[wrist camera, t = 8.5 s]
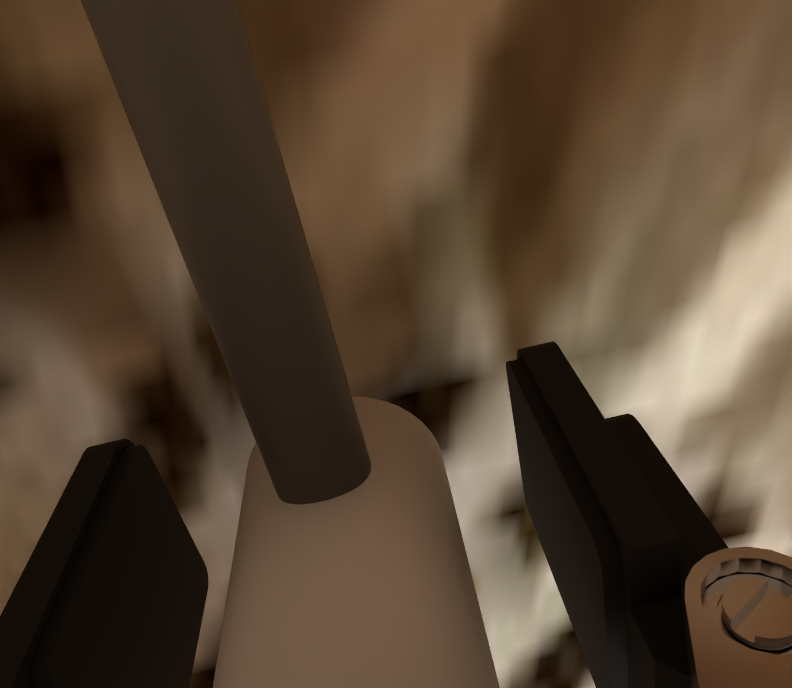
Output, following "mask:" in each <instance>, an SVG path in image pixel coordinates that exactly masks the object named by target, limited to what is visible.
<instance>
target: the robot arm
mask: <svg viewBox="0 0 792 688" xmlns="http://www.w3.org/2000/svg"><path fill="white" fill-rule="evenodd" d="M506 370H507V377H508V384H509V391H510V398H511V405H512V412H513V419H514V426H515V433H516V440H517V447H518V454H519V461H520V468H521V475H522V482H523V489H524V495H525V499H526V504H527V507H528V511H529V514H530V517H531V519H532V522H533V525H534V527H535V530H536V532H537V535H538V538H539V540H540V543H541V545H542V548H543V551H544V553H545V556H546V558H547V561H548V564H549V566H550V569H551V571H552V574H553V577H554V579H555V582H556V584H557V587H558V590H559V592H560V595H561V597H562V600H563V603H564V605H565V608H566V610H567V613H568V615H569V618H570V621H571V623H572V626H573V628H574V631H575V634H576V636H577V639H578V641H579V644H580V647H581V649H582V652H583V654H584V657H585V660H586V662H587V665H588V667H589V670H590V673H591V675H592V678H593V680H594V683H595V686H596V688H792V557H789V556H786V555H784V554H781V553H778V552H775V551H772V550H767V549H760V548H753V547H736V548H728V547H727V545H726V544H725V542H724V541H723V540H722V538H721V537H720V535H719V534H718V533H717V531H716V530H715V528H714V527H713V526H712V524H711V523H710V521H709V520H708V519H707V517H706V516H705V514H704V513H703V511H702V510H701V509H700V507H699V506H698V504H697V503H696V502H695V500H694V499H693V497H692V496H691V495H690V493H689V492H688V490H687V489H686V488H685V486H684V485H683V483H682V482H681V481H680V479H679V478H678V476H677V475H676V474H675V472H674V471H673V469H672V468H671V467H670V465H669V464H668V462H667V461H666V460H665V458H664V457H663V455H662V454H661V453H660V451H659V450H658V448H657V447H656V446H655V444H654V443H653V441H652V440H651V438H650V437H649V436H648V434H647V433H646V431H645V430H644V429H643V427H642V426H641V424H640V423H639V422H638V421H637V420H636V418H635V417H634V416H633V415H630V414H624V415H620V416H615V417H611V418H606V419H605V418H604V417H603V415H602V414H601V412H600V411H599V409H598V407H597V406H596V404H595V403H594V401H593V400H592V398H591V396H590V395H589V393H588V392H587V390H586V389H585V387H584V386H583V384H582V382H581V381H580V379H579V378H578V376H577V375H576V373H575V371H574V370H573V368H572V367H571V365H570V364H569V362H568V361H567V359H566V357H565V356H564V354H563V353H562V351H561V350H560V348H559V346H558V345H557V344H556V343H555V342H549V343H544V344H540V345H535V346H531V347H527V348H522V349H518V351H517V360H512V361H508V362H506ZM207 590H208V573H207V569H206V566H205V563H204V561H203V559H202V557H201V555H200V553H199V551H198V549H197V547H196V545H195V543H194V541H193V539H192V537H191V535H190V533H189V531H188V529H187V527H186V525H185V524H184V522H183V520H182V518H181V516H180V514H179V512H178V510H177V508H176V506H175V504H174V502H173V500H172V498H171V496H170V494H169V492H168V490H167V488H166V486H165V484H164V482H163V480H162V478H161V476H160V474H159V472H158V470H157V468H156V466H155V464H154V462H153V460H152V458H151V456H150V454H149V452H148V451H147V449H146V448H145V447H144V446H142V445H138V446H135V445H134V444H133V443H132V442H131V441H130V440H128V439H122V440H118V441H113V442H109V443H104V444H100V445H96V446H91V447H89V448H87V449H86V450H85V452H84V453H83V455H82V457H81V459H80V461H79V463H78V465H77V467H76V469H75V471H74V473H73V475H72V476H71V478H70V480H69V482H68V484H67V486H66V488H65V490H64V492H63V494H62V496H61V498H60V500H59V502H58V504H57V506H56V508H55V510H54V512H53V514H52V516H51V518H50V520H49V522H48V524H47V526H46V528H45V529H44V531H43V533H42V535H41V537H40V539H39V541H38V543H37V545H36V547H35V549H34V551H33V553H32V555H31V557H30V559H29V561H28V563H27V565H26V567H25V569H24V571H23V573H22V575H21V577H20V579H19V581H18V582H17V584H16V586H15V588H14V590H13V592H12V594H11V596H10V598H9V600H8V602H7V604H6V606H5V608H4V610H3V612H2V614H1V616H0V688H189V685H190V679H191V674H192V669H193V664H194V658H195V653H196V648H197V643H198V638H199V632H200V627H201V622H202V617H203V611H204V606H205V601H206V596H207Z"/></svg>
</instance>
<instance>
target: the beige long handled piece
mask: <svg viewBox="0 0 792 688" xmlns="http://www.w3.org/2000/svg"><path fill="white" fill-rule="evenodd" d="M81 1H82V4H83V6H84V9H85V11H86V14H87V16H88V19H89V21H90V24H91V26H92V29H93V31H94V34H95V37H96V39H97V42H98V44H99V47H100V49H101V52H102V54H103V57H104V59H105V62H106V64H107V67H108V69H109V72H110V74H111V77H112V79H113V82H114V84H115V87H116V89H117V92H118V95H119V97H120V100H121V102H122V105H123V107H124V110H125V112H126V115H127V117H128V120H129V122H130V125H131V127H132V130H133V132H134V135H135V137H136V140H137V142H138V145H139V147H140V150H141V152H142V155H143V158H144V160H145V163H146V165H147V168H148V170H149V173H150V175H151V178H152V180H153V183H154V185H155V188H156V190H157V193H158V195H159V198H160V200H161V203H162V205H163V208H164V210H165V213H166V216H167V218H168V221H169V223H170V226H171V228H172V231H173V233H174V236H175V238H176V241H177V243H178V246H179V248H180V251H181V253H182V256H183V258H184V261H185V263H186V266H187V268H188V271H189V274H190V276H191V279H192V281H193V284H194V286H195V289H196V291H197V294H198V296H199V299H200V301H201V304H202V306H203V309H204V311H205V314H206V316H207V319H208V321H209V324H210V326H211V329H212V332H213V334H214V337H215V339H216V342H217V344H218V347H219V349H220V352H221V354H222V357H223V359H224V362H225V364H226V367H227V369H228V372H229V374H230V377H231V379H232V382H233V384H234V387H235V390H236V392H237V395H238V397H239V400H240V402H241V405H242V407H243V410H244V412H245V415H246V417H247V420H248V422H249V425H250V427H251V430H252V432H253V435H254V437H255V440H256V442H257V443H256V445H255V446H254V448H253V450H252V453H251V456H250V458H249V462H248V467H247V473H246V480H245V486H244V492H243V499H242V505H241V511H240V518H239V524H238V530H237V537H236V543H235V549H234V556H233V562H232V569H231V575H230V581H229V588H228V594H227V600H226V607H225V613H224V619H223V626H222V632H221V638H220V645H219V651H218V657H217V664H216V670H215V676H214V683H213V688H500V687H499V683H498V679H497V675H496V671H495V667H494V663H493V659H492V655H491V651H490V647H489V643H488V639H487V635H486V631H485V627H484V623H483V619H482V615H481V611H480V607H479V603H478V599H477V595H476V591H475V587H474V583H473V579H472V575H471V570H470V566H469V562H468V558H467V554H466V550H465V546H464V542H463V538H462V534H461V530H460V526H459V522H458V518H457V514H456V510H455V506H454V502H453V498H452V494H451V490H450V486H449V482H448V478H447V474H446V470H445V466H444V462H443V458H442V454H441V451H440V448H439V445H438V443H437V441H436V439H435V437H434V436H433V435H432V433H431V432H430V430H429V429H428V428H427V427H426V426H425V425H424V424H423V423H422V422H421V421H420V420H419V419H418V418H416V417H415V416H414V415H412V414H411V413H409V412H408V411H406V410H404V409H402V408H401V407H398V406H396V405H394V404H391V403H389V402H385V401H382V400H378V399H374V398H367V397H358V396H351V392H350V389H349V385H348V382H347V379H346V375H345V372H344V368H343V365H342V361H341V358H340V355H339V351H338V348H337V344H336V341H335V337H334V334H333V331H332V327H331V324H330V320H329V317H328V313H327V310H326V306H325V303H324V300H323V296H322V293H321V289H320V286H319V282H318V279H317V276H316V272H315V269H314V265H313V262H312V258H311V255H310V251H309V248H308V245H307V241H306V238H305V234H304V231H303V227H302V224H301V221H300V217H299V214H298V210H297V207H296V203H295V200H294V197H293V193H292V190H291V186H290V183H289V179H288V176H287V172H286V169H285V166H284V162H283V159H282V155H281V152H280V148H279V145H278V142H277V138H276V135H275V131H274V128H273V124H272V121H271V118H270V114H269V111H268V107H267V104H266V100H265V97H264V93H263V90H262V87H261V83H260V80H259V76H258V73H257V69H256V66H255V63H254V59H253V56H252V52H251V49H250V45H249V42H248V39H247V35H246V32H245V28H244V25H243V21H242V18H241V14H240V11H239V8H238V4H237V1H236V0H81Z"/></svg>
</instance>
